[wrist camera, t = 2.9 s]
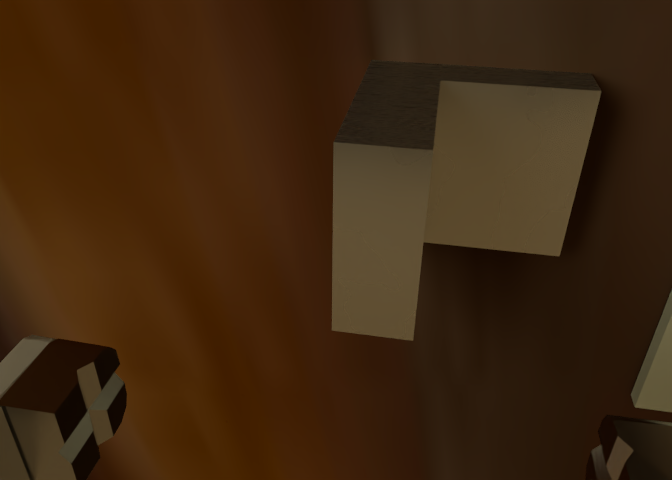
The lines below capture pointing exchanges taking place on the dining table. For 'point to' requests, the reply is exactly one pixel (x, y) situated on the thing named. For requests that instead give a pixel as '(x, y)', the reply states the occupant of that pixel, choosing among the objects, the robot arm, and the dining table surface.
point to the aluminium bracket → (449, 176)
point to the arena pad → (657, 368)
